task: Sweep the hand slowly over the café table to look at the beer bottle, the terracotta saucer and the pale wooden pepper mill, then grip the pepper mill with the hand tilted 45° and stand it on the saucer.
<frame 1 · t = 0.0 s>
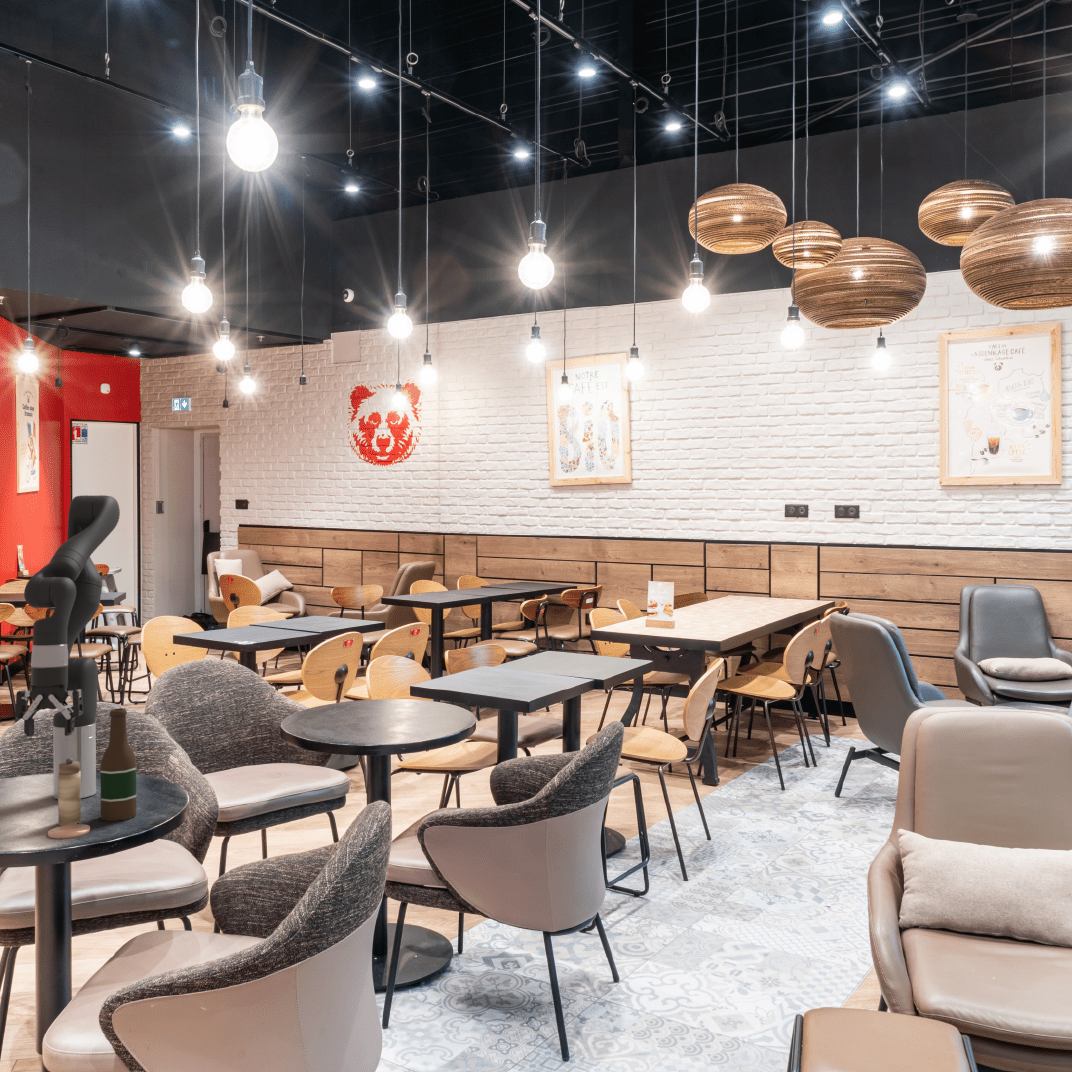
hand: (49, 735, 217), 17 cm above the table, tool pointing down, fingers open, 8 cm apart
pepper mill: (69, 823, 207), on the table
beer bottle: (118, 817, 211), on the table
saucer: (69, 832, 200), on the table
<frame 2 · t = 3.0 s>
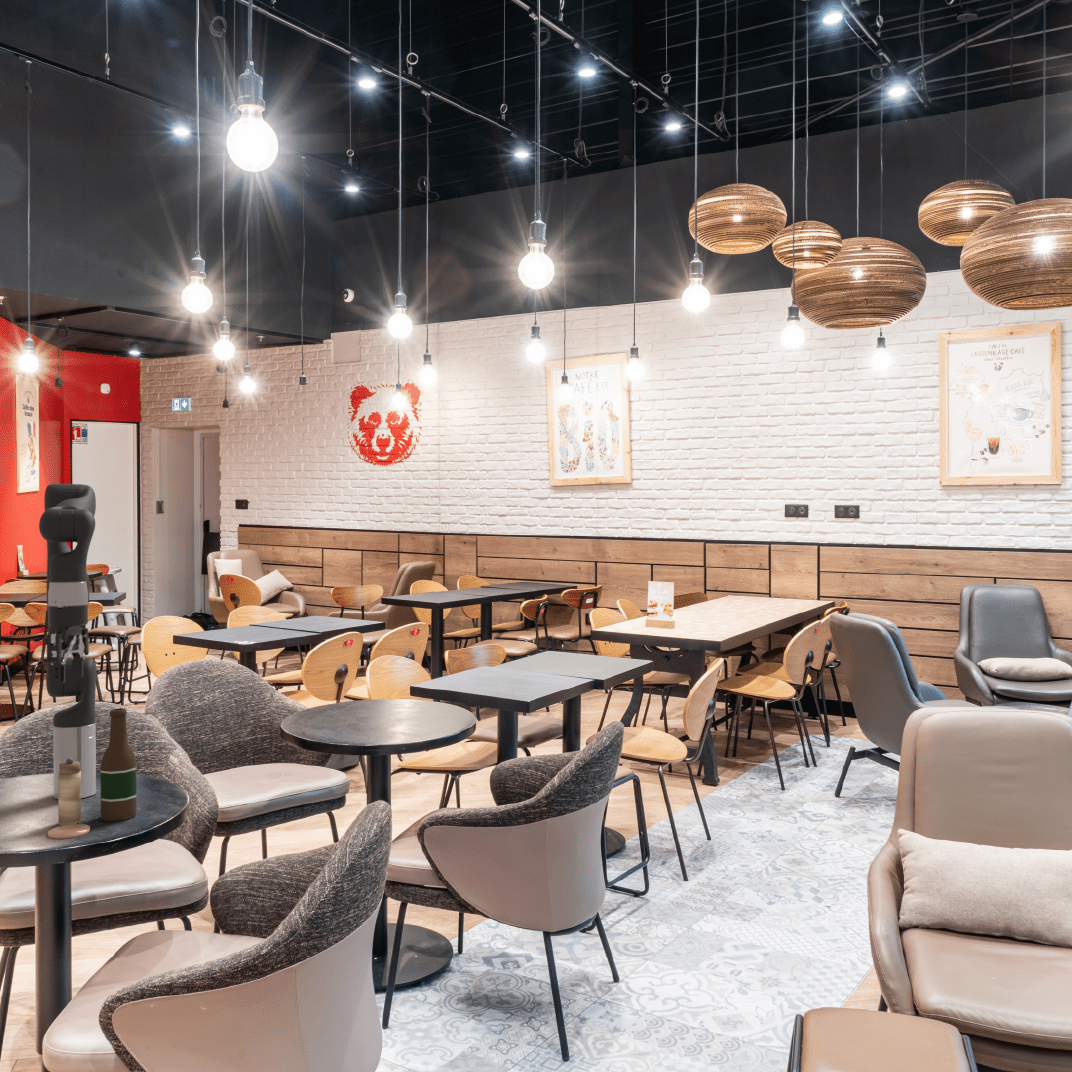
hand: (68, 680, 200), 32 cm above the table, tool pointing down, fingers open, 8 cm apart
nothing on the table moved.
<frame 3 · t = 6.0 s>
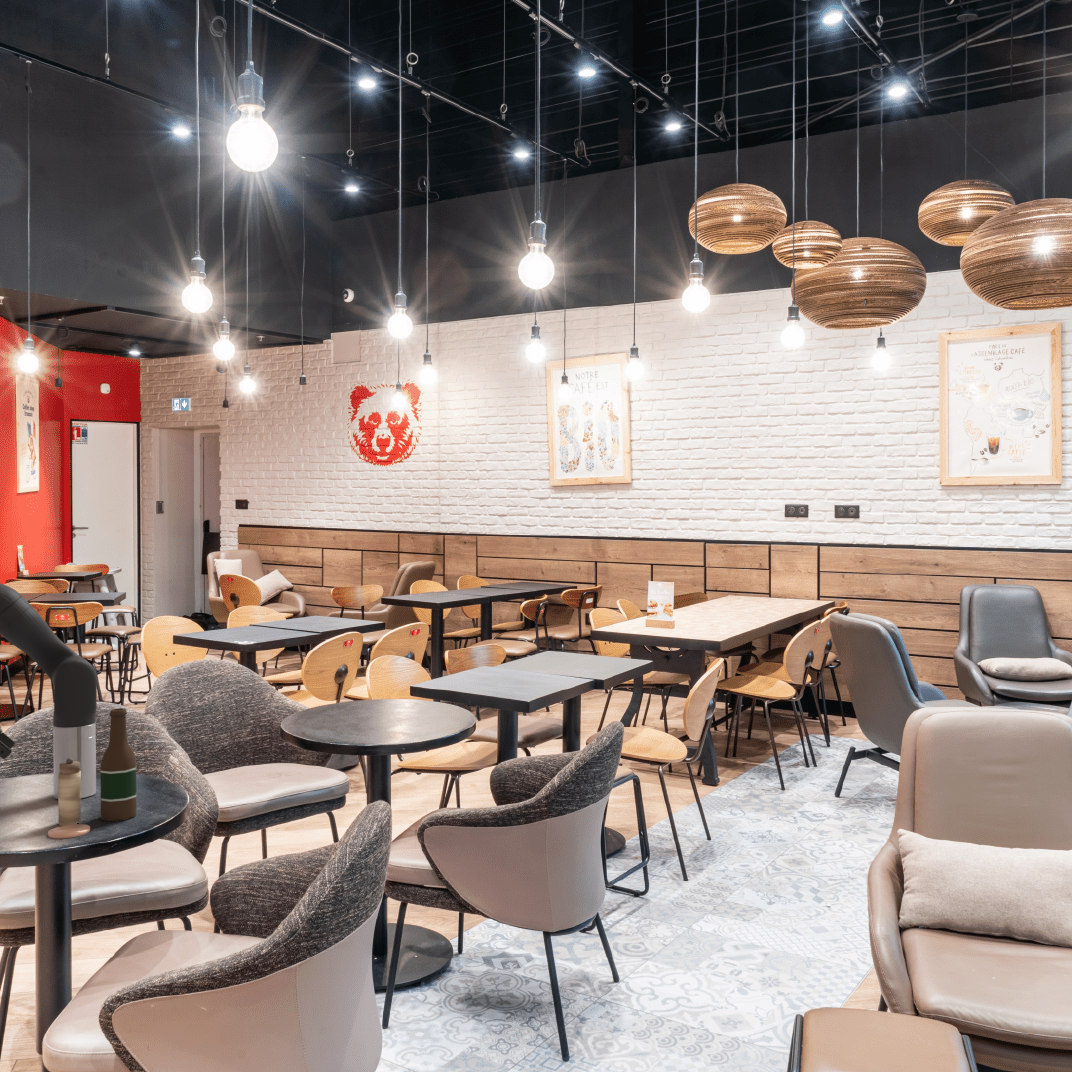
hand: (10, 751, 202), 17 cm above the table, tool tilted 45°, fingers open, 8 cm apart
nothing on the table moved.
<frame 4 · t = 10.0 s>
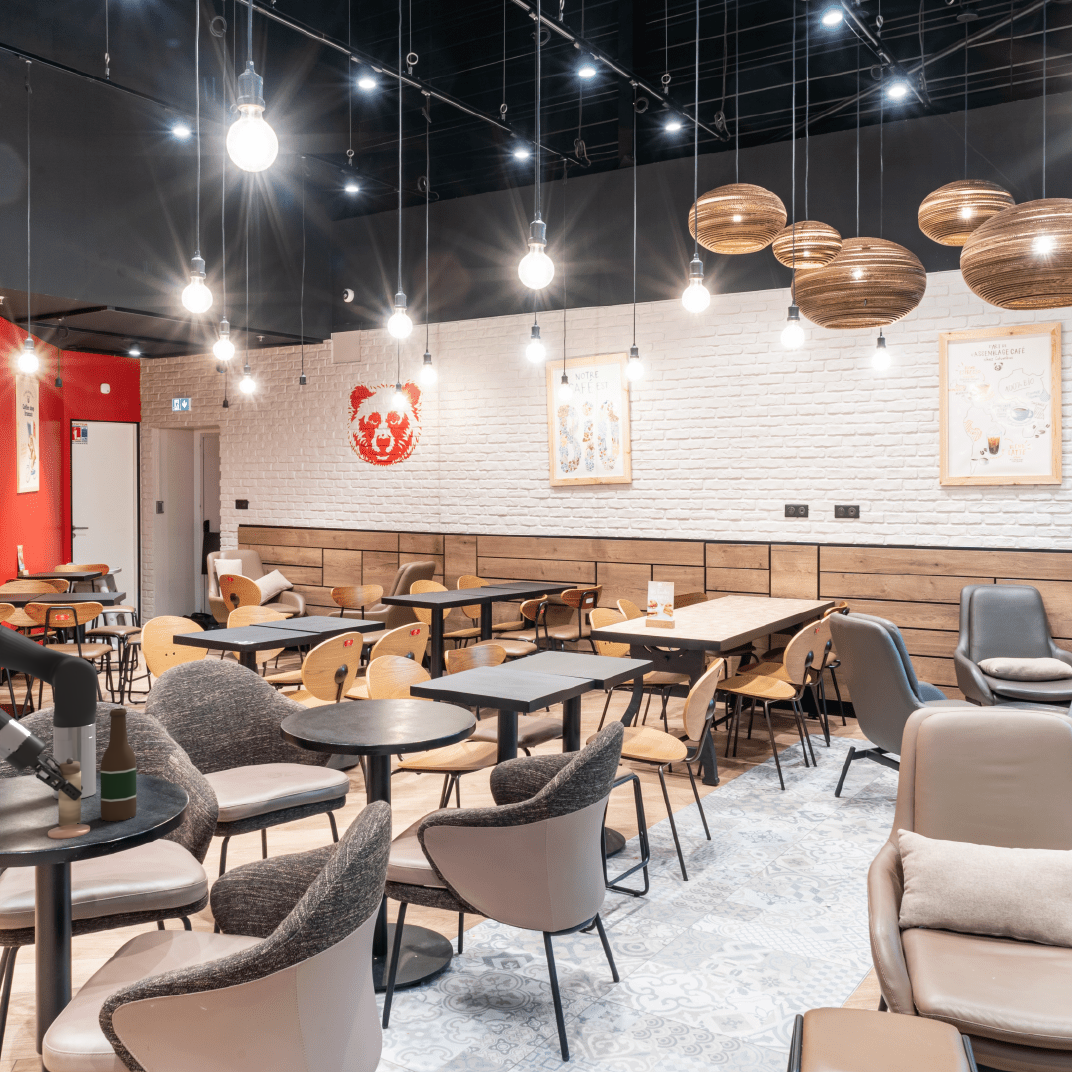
hand: (79, 794, 208), 6 cm above the table, tool tilted 45°, fingers closed on pepper mill, 4 cm apart
pepper mill: (69, 823, 207), on the table, touching gripper
everything else where it was.
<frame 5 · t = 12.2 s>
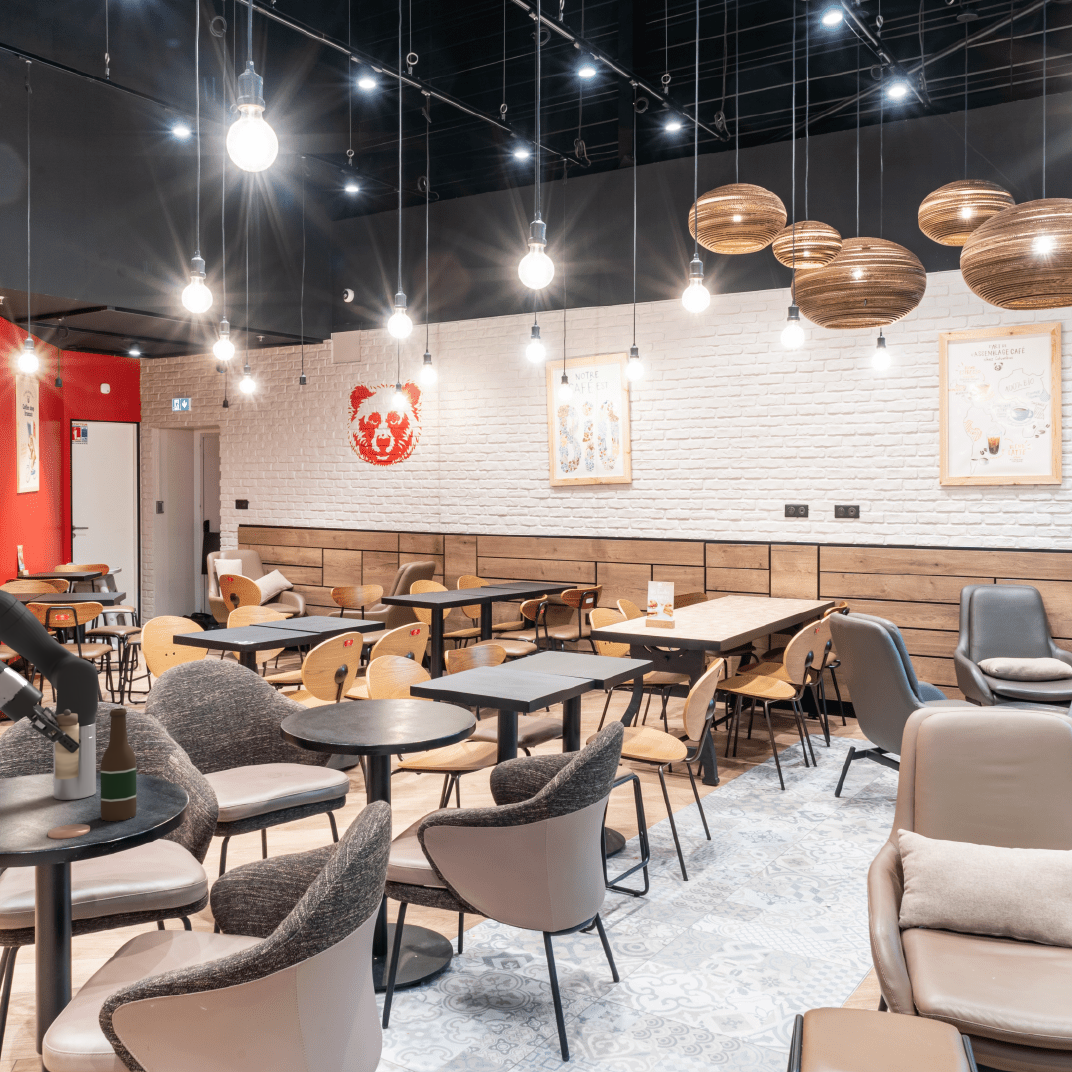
hand: (77, 746, 201), 18 cm above the table, tool tilted 45°, fingers closed on pepper mill, 4 cm apart
pepper mill: (66, 776, 200), point 12 cm above the table, touching gripper
everything else where it was.
when the fingers open (8 cm above the table, at t = 14.9 s): pepper mill drops 1 cm, resting on saucer.
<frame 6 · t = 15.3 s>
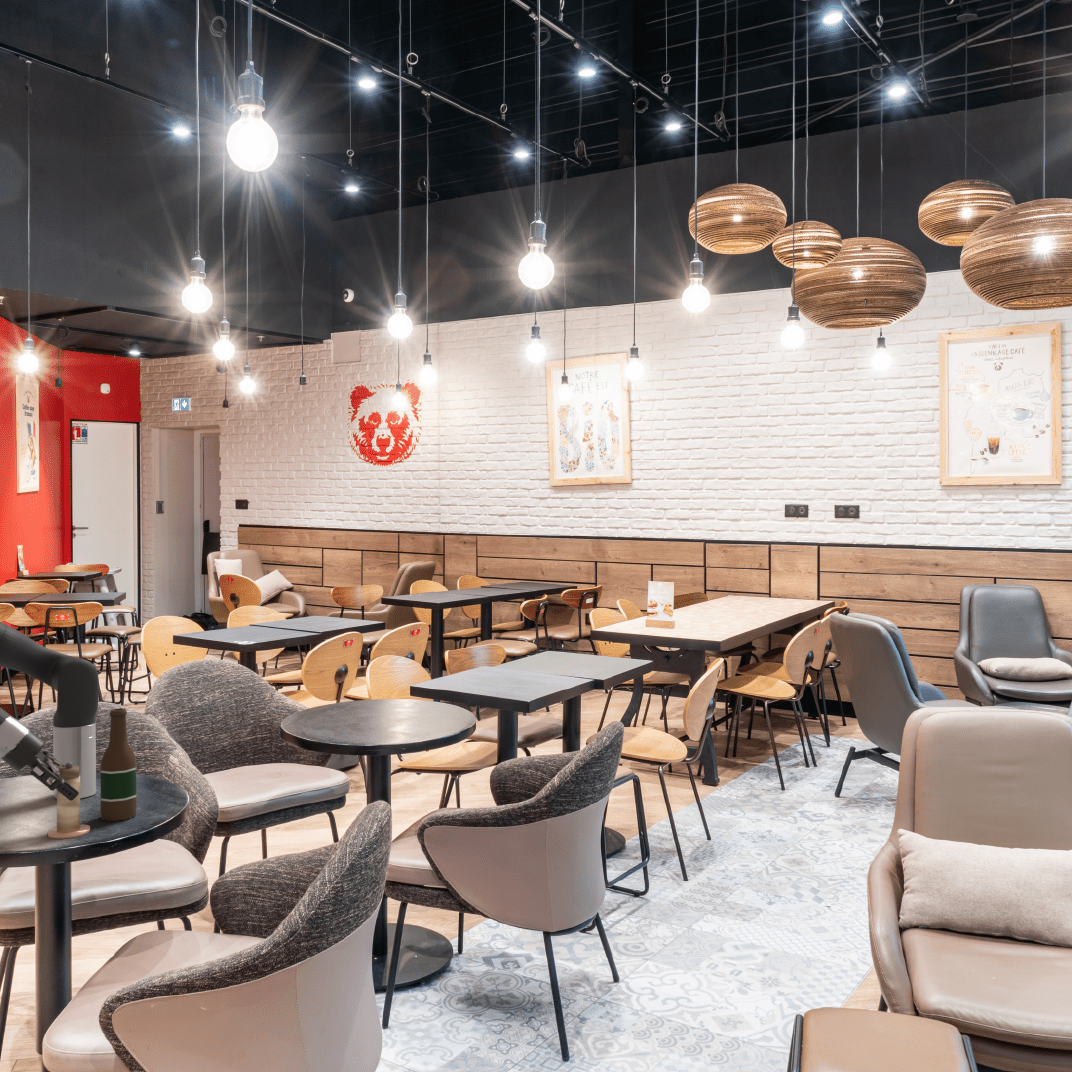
hand: (76, 792, 201), 8 cm above the table, tool tilted 45°, fingers open, 7 cm apart
pepper mill: (68, 829, 200), point 1 cm above the table, touching saucer
everything else where it was.
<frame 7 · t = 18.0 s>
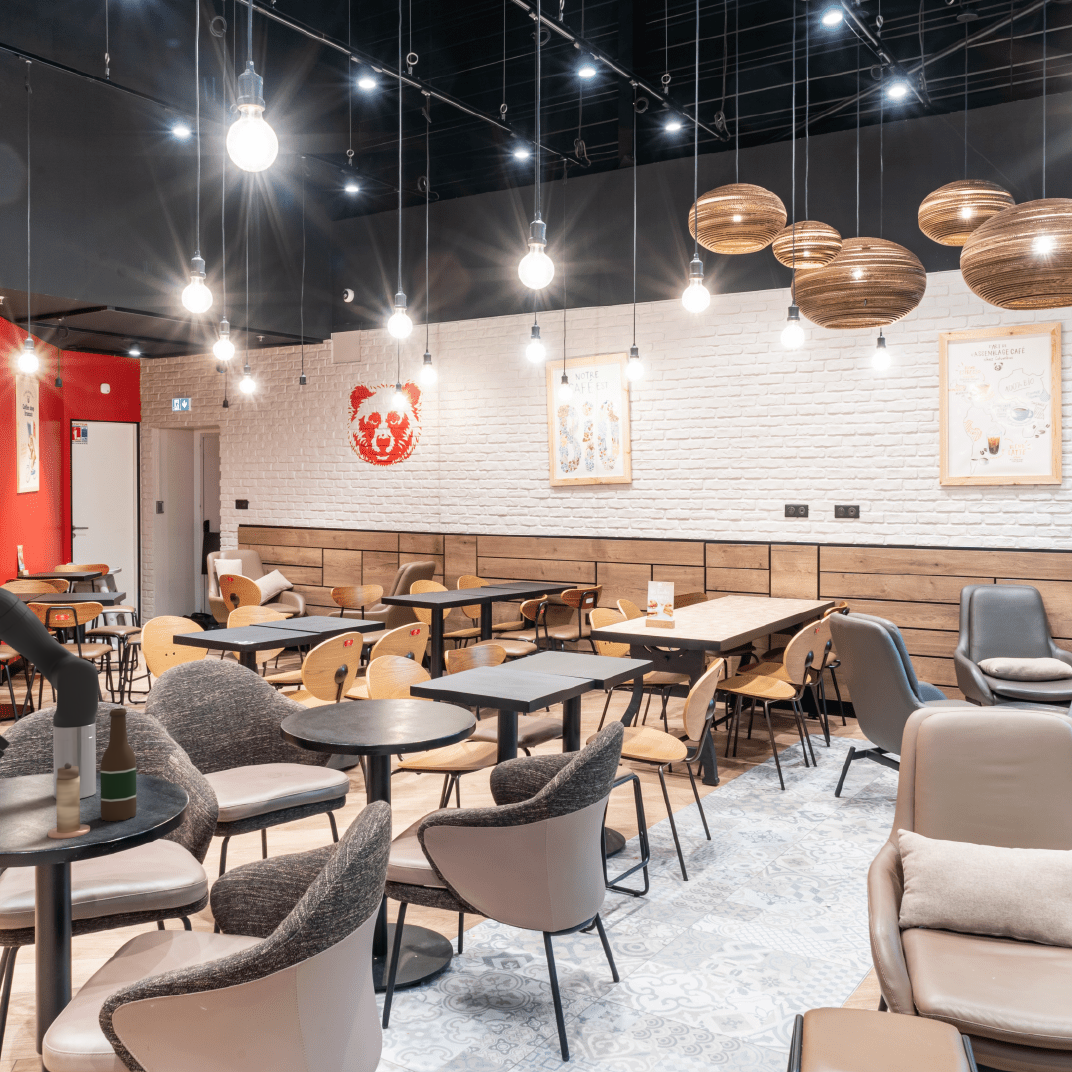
hand: (3, 752, 196), 18 cm above the table, tool tilted 45°, fingers open, 8 cm apart
nothing on the table moved.
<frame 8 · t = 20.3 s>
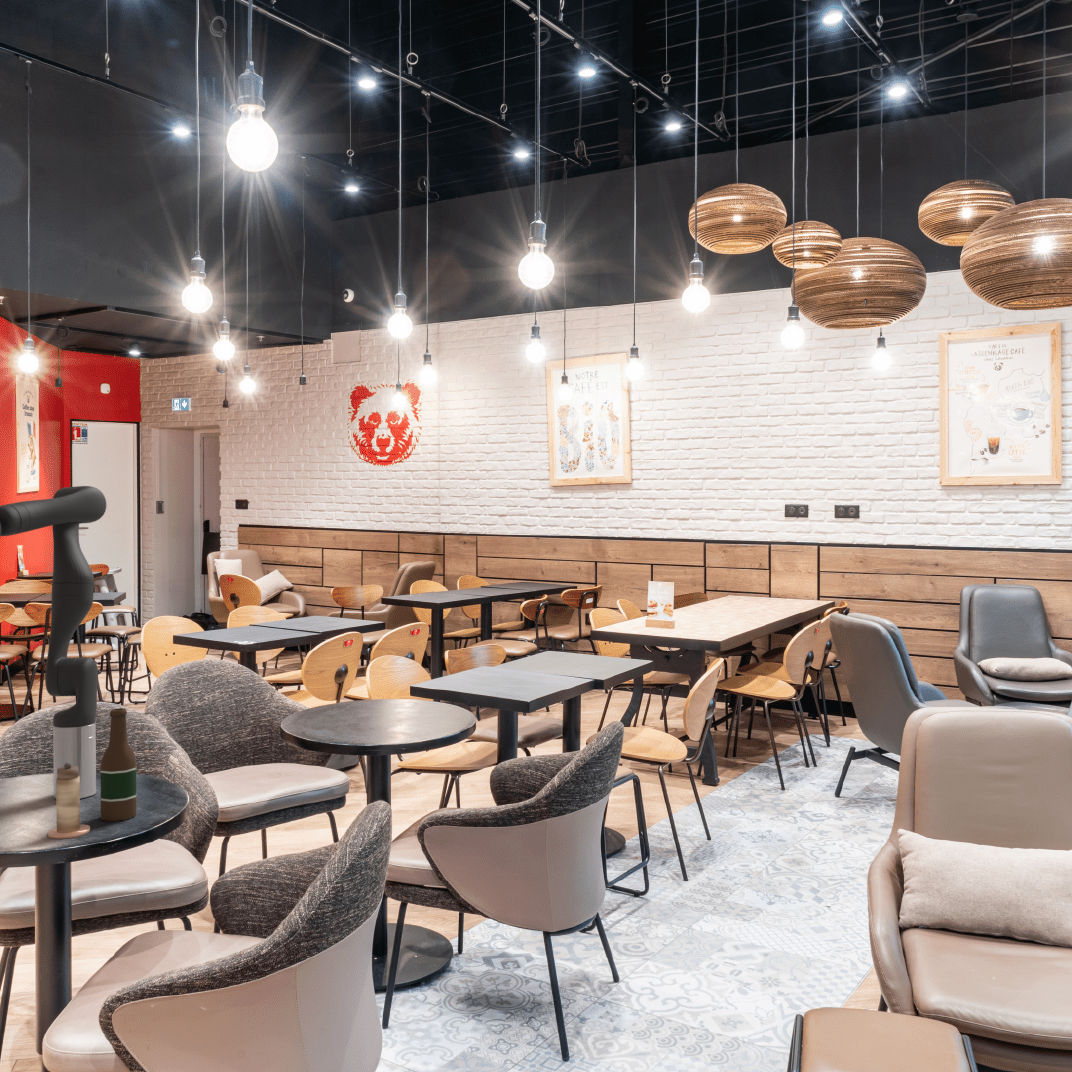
nothing on the table moved.
at the end: pepper mill 0.2 cm off-centre on the saucer, point 0.6 cm above the saucer's base; pepper mill tilted 0°; the gripper is holding nothing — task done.
